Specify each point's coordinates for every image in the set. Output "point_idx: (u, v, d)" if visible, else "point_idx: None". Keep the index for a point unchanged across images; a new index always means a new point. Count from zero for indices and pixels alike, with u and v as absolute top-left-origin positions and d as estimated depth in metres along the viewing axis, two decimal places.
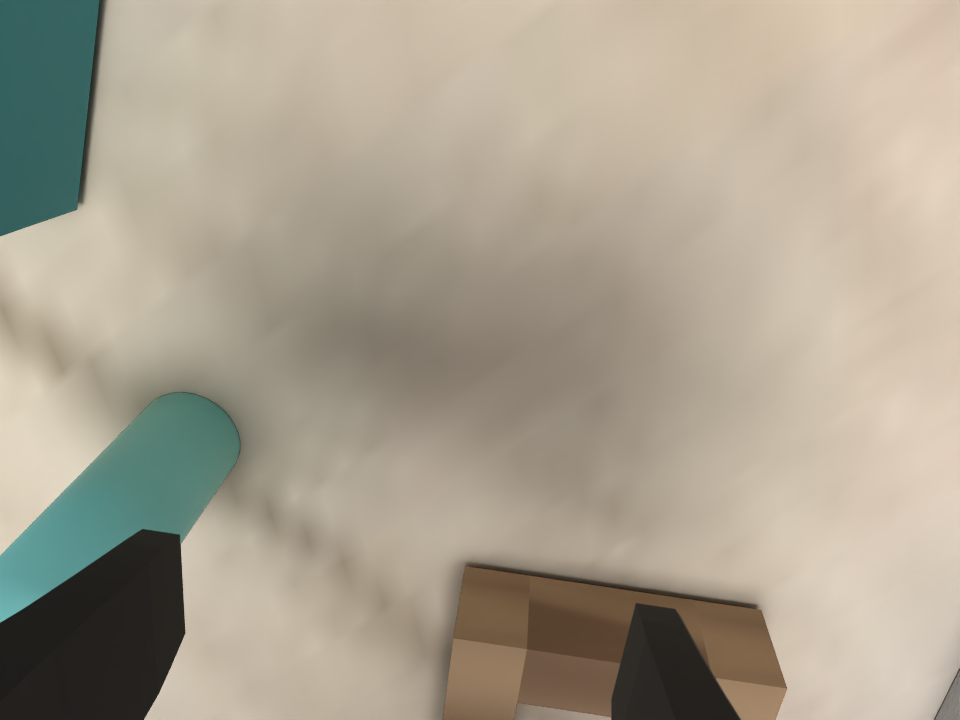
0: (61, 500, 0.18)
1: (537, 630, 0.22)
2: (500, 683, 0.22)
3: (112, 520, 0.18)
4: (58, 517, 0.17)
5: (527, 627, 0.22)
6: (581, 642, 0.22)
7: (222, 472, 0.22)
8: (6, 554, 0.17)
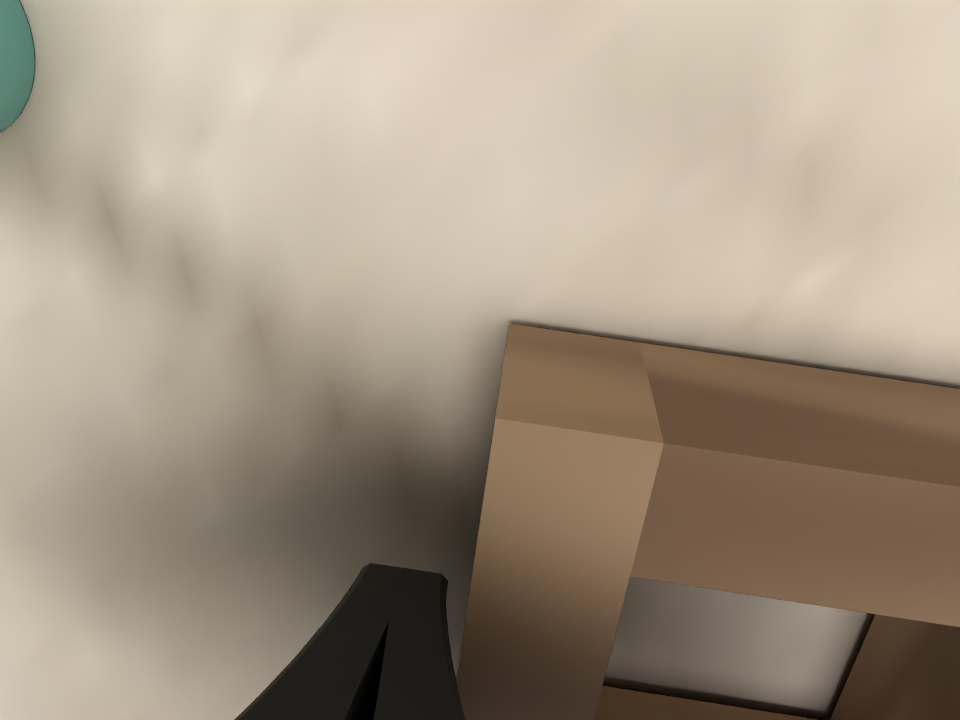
0: None
1: (678, 416, 0.10)
2: (596, 531, 0.10)
3: None
4: None
5: (655, 410, 0.10)
6: (780, 438, 0.10)
7: None
8: None
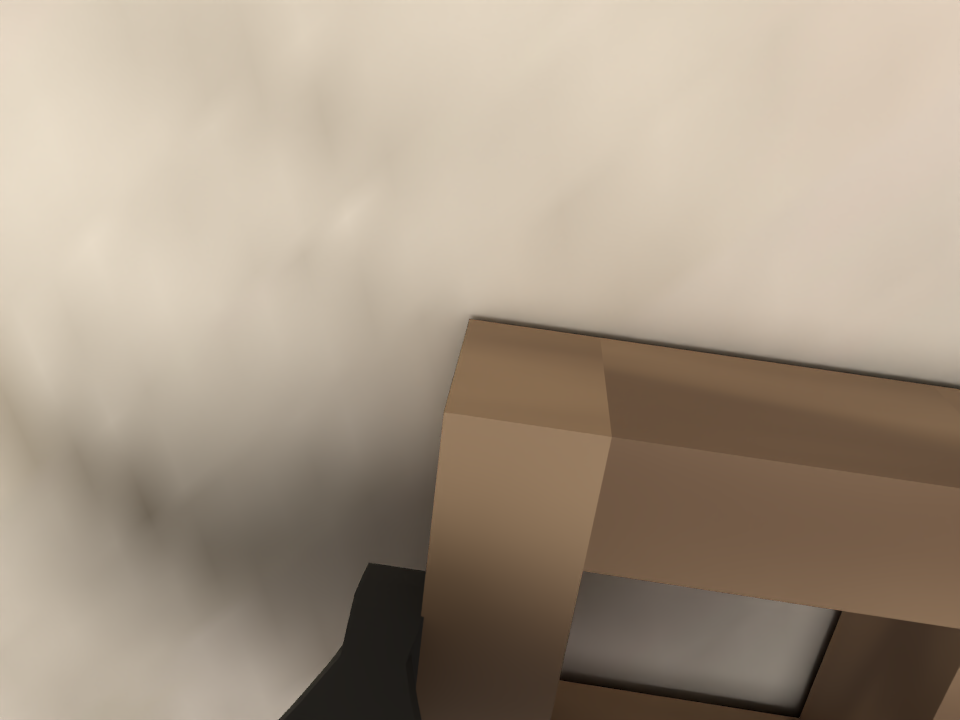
0: None
1: (630, 410, 0.10)
2: (548, 524, 0.10)
3: None
4: None
5: (607, 404, 0.10)
6: (730, 432, 0.10)
7: None
8: None
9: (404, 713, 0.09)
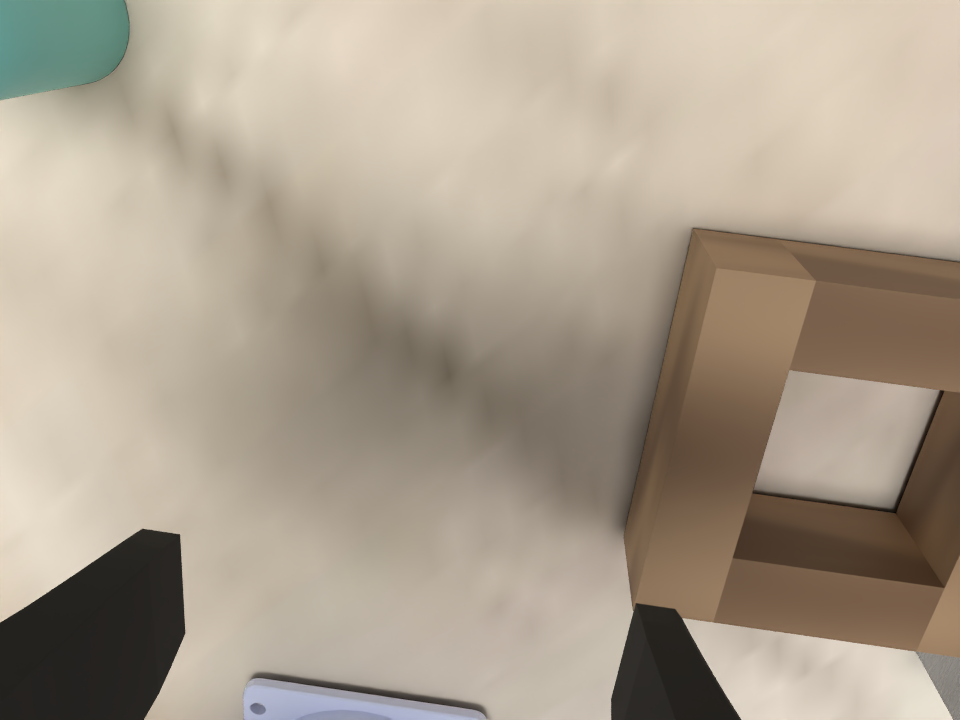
0: None
1: (818, 270, 0.17)
2: (771, 339, 0.17)
3: None
4: None
5: (804, 268, 0.17)
6: (881, 281, 0.17)
7: (98, 28, 0.17)
8: None
9: None
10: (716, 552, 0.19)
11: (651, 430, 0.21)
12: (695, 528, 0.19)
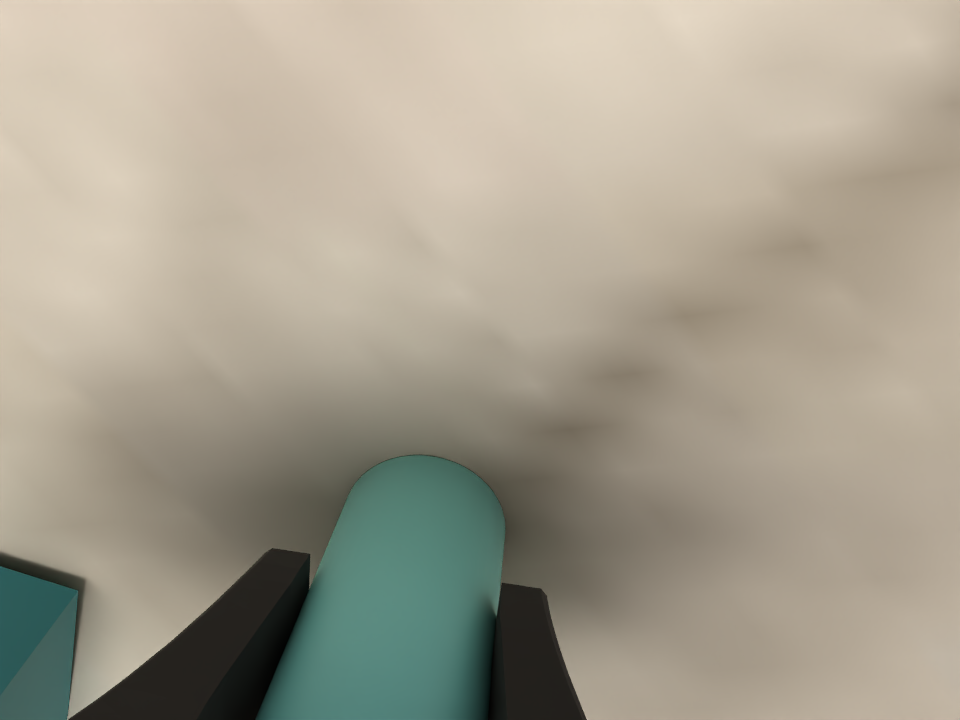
0: None
1: None
2: None
3: None
4: None
5: None
6: None
7: (424, 500, 0.13)
8: None
9: None
10: None
11: None
12: None
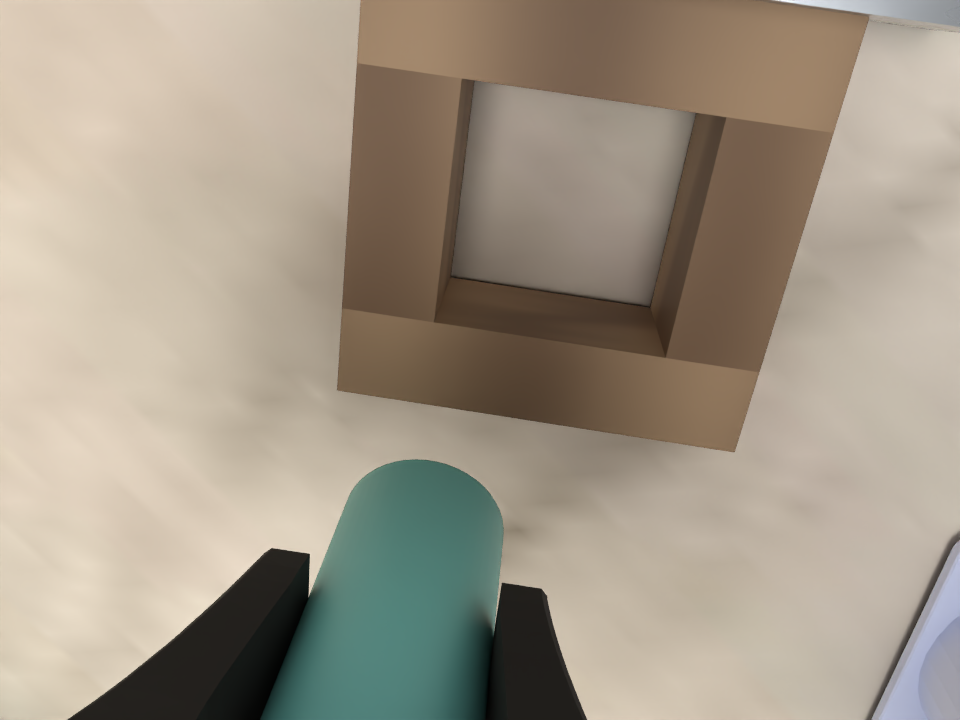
0: None
1: None
2: (403, 340, 0.17)
3: None
4: None
5: None
6: None
7: (430, 508, 0.13)
8: None
9: None
10: (656, 374, 0.17)
11: None
12: (623, 396, 0.17)
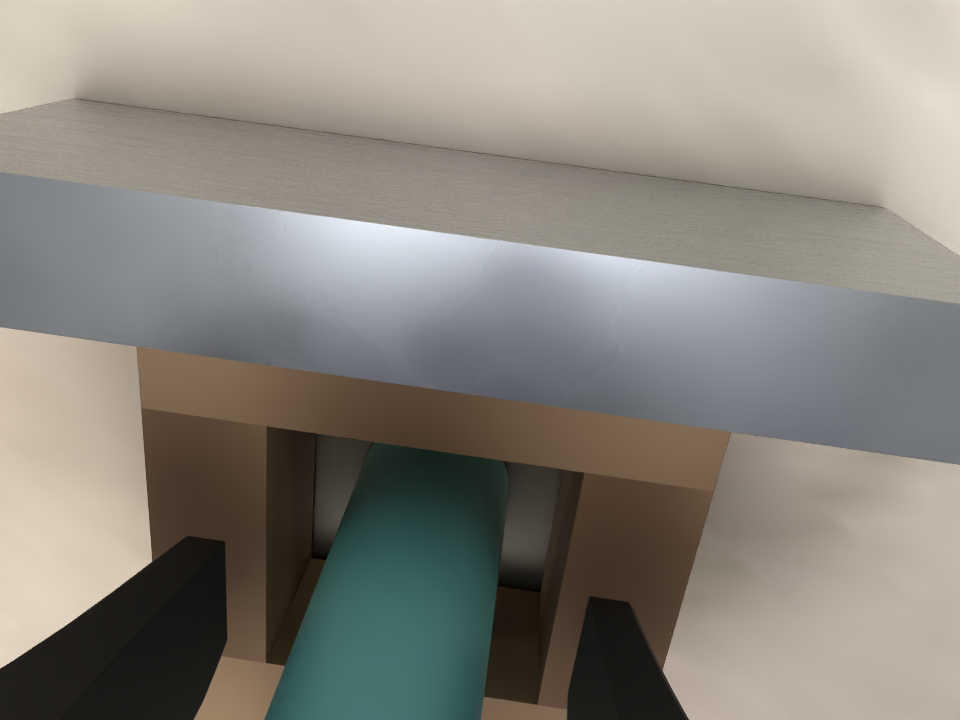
0: None
1: None
2: (232, 679, 0.15)
3: (287, 675, 0.11)
4: None
5: None
6: None
7: (442, 465, 0.14)
8: None
9: None
10: None
11: None
12: None
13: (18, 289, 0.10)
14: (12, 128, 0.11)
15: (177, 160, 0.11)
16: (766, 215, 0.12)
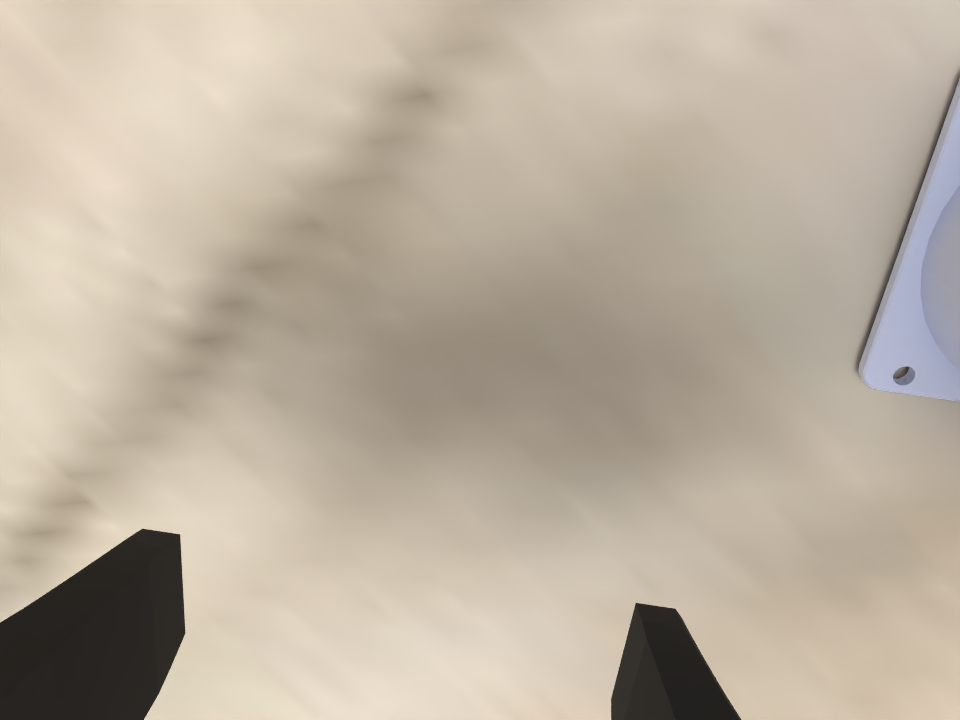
0: None
1: None
2: None
3: None
4: None
5: None
6: None
7: None
8: None
9: None
10: None
11: None
12: None
13: None
14: None
15: None
16: None
